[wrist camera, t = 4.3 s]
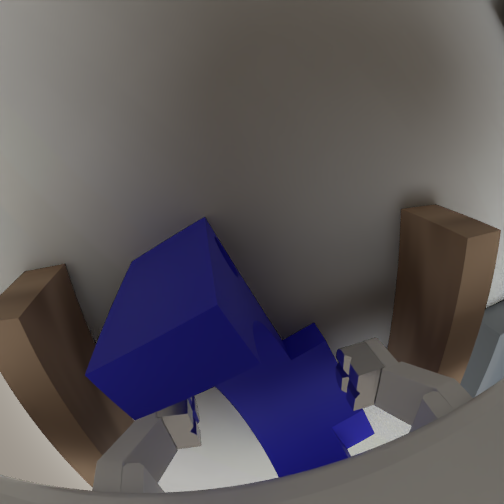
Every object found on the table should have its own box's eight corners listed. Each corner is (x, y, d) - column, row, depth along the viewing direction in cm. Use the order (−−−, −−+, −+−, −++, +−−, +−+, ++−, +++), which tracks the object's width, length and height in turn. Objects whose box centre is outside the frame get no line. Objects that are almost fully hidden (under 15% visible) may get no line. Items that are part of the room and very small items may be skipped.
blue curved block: (351, 394, 15) (401, 478, 9) (277, 432, 15) (307, 523, 10) (243, 193, 10) (301, 257, 5) (132, 259, 10) (85, 375, 5)
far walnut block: (398, 207, 12) (467, 238, 8) (433, 203, 12) (500, 230, 8) (380, 374, 15) (418, 424, 11) (410, 363, 15) (449, 408, 11)
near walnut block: (26, 270, 10) (-26, 322, 6) (66, 262, 10) (18, 318, 6) (103, 425, 13) (92, 486, 9) (137, 424, 13) (131, 488, 10)
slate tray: (473, 314, 15) (500, 335, 12) (543, 278, 16) (564, 290, 14) (413, 461, 21) (425, 480, 19) (485, 419, 22) (497, 433, 20)
